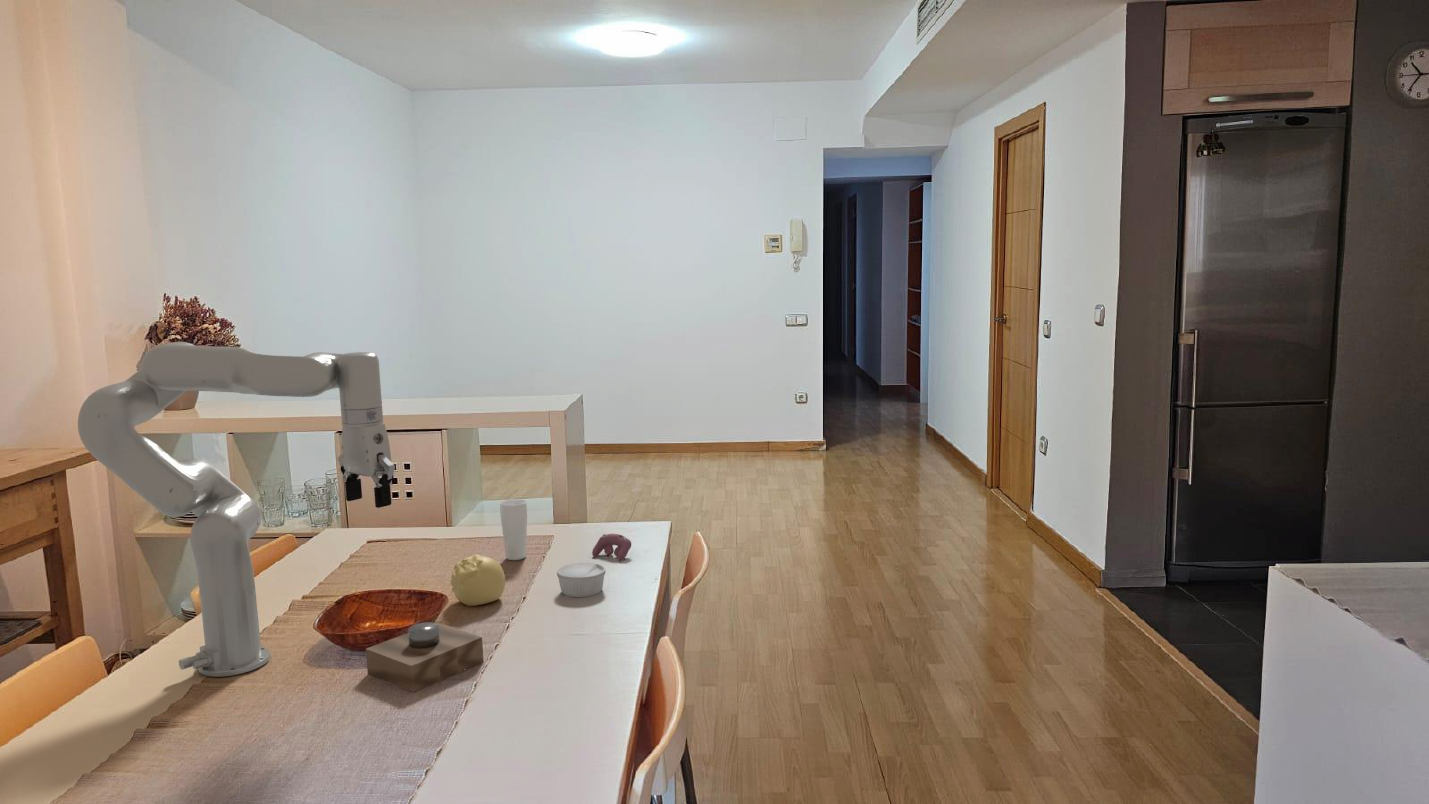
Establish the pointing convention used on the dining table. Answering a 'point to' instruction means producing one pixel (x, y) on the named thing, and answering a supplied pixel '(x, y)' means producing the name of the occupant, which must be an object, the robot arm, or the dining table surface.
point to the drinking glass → (514, 528)
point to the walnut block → (424, 659)
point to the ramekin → (581, 579)
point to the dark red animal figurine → (608, 542)
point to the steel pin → (423, 635)
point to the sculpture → (477, 580)
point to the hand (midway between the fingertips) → (368, 502)
